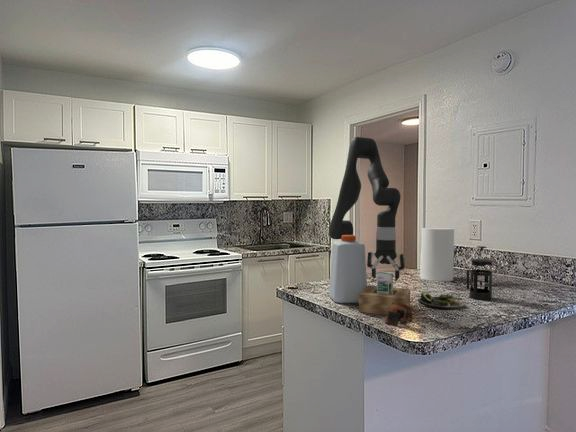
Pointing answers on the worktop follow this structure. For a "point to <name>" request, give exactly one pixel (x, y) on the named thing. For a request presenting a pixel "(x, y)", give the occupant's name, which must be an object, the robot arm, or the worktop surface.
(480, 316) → the worktop surface
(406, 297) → the slot block
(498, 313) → the worktop surface
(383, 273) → the syrup box
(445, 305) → the salad plate
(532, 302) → the worktop surface
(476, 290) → the french press
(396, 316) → the pottery mug
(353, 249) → the plastic bottle
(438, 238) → the cylinder
